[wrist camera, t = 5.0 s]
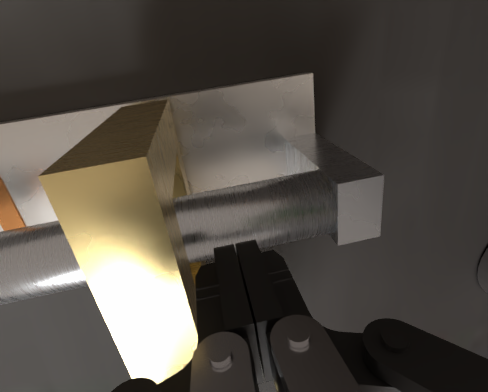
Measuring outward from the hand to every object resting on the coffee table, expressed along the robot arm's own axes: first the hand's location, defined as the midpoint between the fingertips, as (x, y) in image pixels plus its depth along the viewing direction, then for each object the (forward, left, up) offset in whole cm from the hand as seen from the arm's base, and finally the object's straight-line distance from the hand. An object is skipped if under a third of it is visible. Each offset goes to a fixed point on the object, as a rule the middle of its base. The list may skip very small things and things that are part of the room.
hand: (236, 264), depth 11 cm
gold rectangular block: (+3, 0, -8) cm, 9 cm away
